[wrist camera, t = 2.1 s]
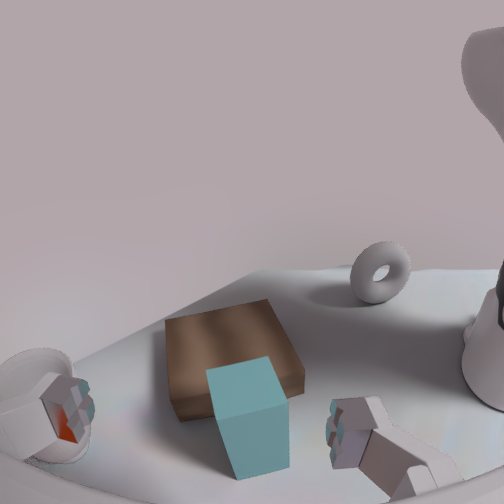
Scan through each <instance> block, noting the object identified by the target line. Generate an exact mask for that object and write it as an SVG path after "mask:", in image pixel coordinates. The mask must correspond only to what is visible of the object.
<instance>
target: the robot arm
mask: <svg viewBox="0 0 504 504" xmlns="http://www.w3.org/2000/svg"><path fill="white" fill-rule="evenodd" d="M461 64H462V65H461V66H462V75H463V80H464V84H465V86H466V89H467V92H468V94H469V95H470V98H471V99H472V101H473V103H474V104H475V106H476V107H477V108H478V110H479V111H480V112H481V113H482V114H483V115H484V116H485V117H486V118H487V119H488V120H489V121H490V123H491V124H492V125H493V126H494V127H495V129H496V130H497V132H498V133H499V135H500V136H501V138H502V140H503V142H504V27H499V28H492V29H487V30H482V31H478V32H474V33H472V34H471V36H470V37H469V38H468V40H467V42H466V44H465V47H464V50H463V53H462V62H461ZM463 338H464V342H465V349H464V352H463V355H462V371H463V375H464V377H465V380H466V382H467V383H468V385H469V387H470V388H471V389H472V391H473V392H474V393H475V394H476V395H477V396H478V397H479V398H480V399H481V400H483V401H484V402H485V403H487V404H488V405H490V406H492V407H494V408H496V409H499V410H502V411H504V261H503V265H502V266H501V268H500V271H499V275H498V281H497V284H496V287H495V288H493V289H490V290H489V291H488V292H487V294H486V296H485V299H484V301H483V304H482V306H481V309H480V311H479V313H478V316H477V318H476V320H475V323H474V324H472V325H469V326H467V327H466V328H465V330H464V332H463ZM89 390H90V389H89V386H88V382H87V381H85V380H83V379H79V378H75V377H71V376H67V375H63V374H58V373H55V372H48V373H47V374H46V375H45V376H44V377H43V378H42V379H41V380H40V381H39V382H38V384H37V385H36V386H35V387H34V388H33V389H32V390H31V391H30V392H29V393H28V394H27V395H26V394H22V395H19V396H16V397H14V398H11V399H8V400H5V401H2V402H0V504H154V503H149V502H144V501H139V500H135V499H130V498H126V497H122V496H118V495H114V494H111V493H107V492H104V491H100V490H97V489H93V488H90V487H87V486H84V485H81V484H78V483H75V482H72V481H69V480H66V479H63V478H61V477H58V476H55V475H53V474H50V473H48V472H45V471H43V470H40V469H38V468H36V467H33V466H31V465H29V464H27V463H24V462H22V461H23V460H25V459H27V458H28V457H30V456H32V455H33V454H35V453H37V452H38V451H40V450H42V449H43V448H45V447H47V446H48V445H50V444H52V443H53V442H55V441H56V440H58V438H59V439H62V440H65V441H69V442H72V443H76V444H78V443H79V441H80V440H81V438H82V437H83V435H84V433H85V429H84V427H85V426H87V425H89V424H90V423H91V422H92V420H93V417H94V412H95V407H94V402H93V399H92V398H91V397H90V396H89V395H88V392H89ZM330 411H331V416H330V417H329V418H328V419H327V424H326V440H327V445H328V446H330V447H331V451H330V459H331V463H332V467H333V469H345V468H356V467H359V469H360V470H361V471H362V472H363V473H364V474H365V475H366V476H367V477H368V478H369V479H371V480H372V481H373V482H374V483H375V484H376V485H377V486H378V487H379V488H381V489H382V490H383V491H384V492H385V493H386V494H387V495H388V496H390V497H391V499H390V500H389V502H387V503H382V504H504V465H503V466H501V467H498V468H496V469H494V470H492V471H489V472H487V473H484V474H482V475H479V476H477V477H474V478H471V479H469V480H466V481H465V480H464V479H463V477H462V475H461V473H460V471H459V470H458V468H457V466H456V464H455V462H454V461H453V459H452V457H451V456H450V455H448V454H446V453H444V452H442V451H440V450H439V449H437V448H435V447H433V446H431V445H430V444H428V443H426V442H424V441H423V440H421V439H419V438H417V437H416V436H414V435H412V434H410V433H409V432H407V431H405V430H404V429H402V428H400V427H398V426H393V424H392V422H391V420H390V418H389V416H388V414H387V412H386V410H385V408H384V406H383V404H382V402H381V400H380V398H379V397H378V396H377V395H376V396H367V397H360V398H347V399H333V400H332V402H331V406H330Z"/></svg>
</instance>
